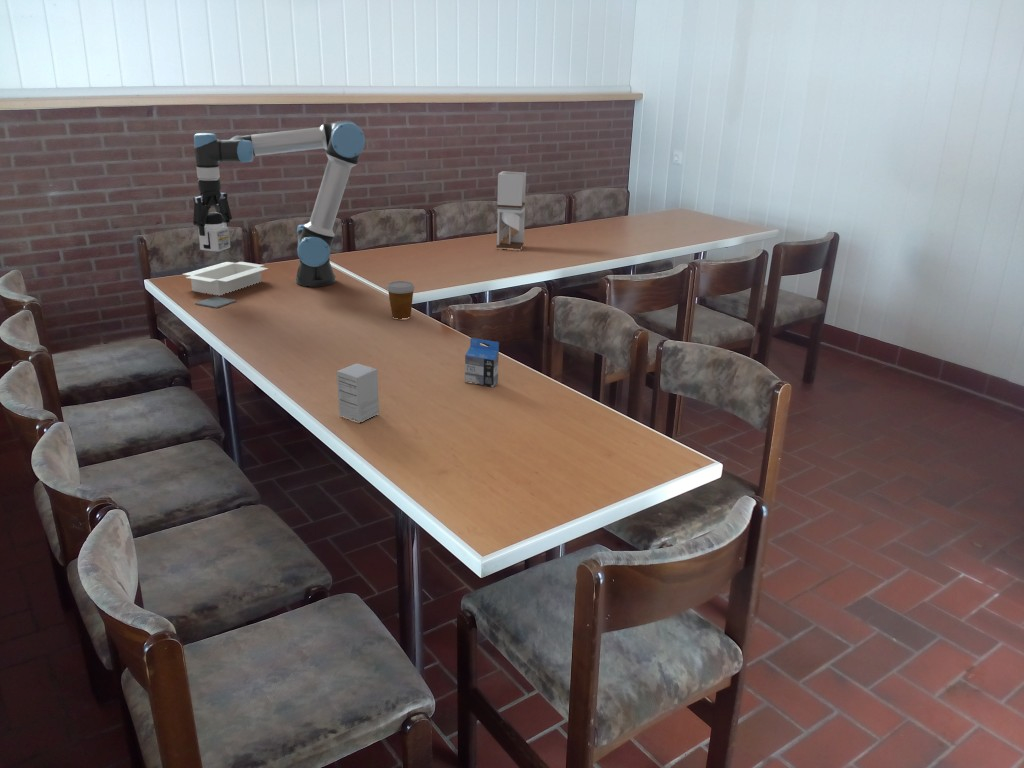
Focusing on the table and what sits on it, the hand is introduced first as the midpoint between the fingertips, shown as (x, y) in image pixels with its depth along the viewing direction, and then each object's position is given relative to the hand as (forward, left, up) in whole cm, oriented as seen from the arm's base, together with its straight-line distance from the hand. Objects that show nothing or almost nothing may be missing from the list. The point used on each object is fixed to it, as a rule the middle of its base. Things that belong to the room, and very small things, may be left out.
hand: (215, 242), depth 298 cm
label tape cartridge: (-125, +32, -20) cm, 131 cm away
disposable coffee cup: (-73, -9, -20) cm, 77 cm away
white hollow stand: (-59, -129, -20) cm, 143 cm away
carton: (+6, -10, -20) cm, 23 cm away
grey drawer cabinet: (-108, +67, -20) cm, 129 cm away
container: (0, 0, -3) cm, 3 cm away
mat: (-6, +9, -20) cm, 23 cm away
